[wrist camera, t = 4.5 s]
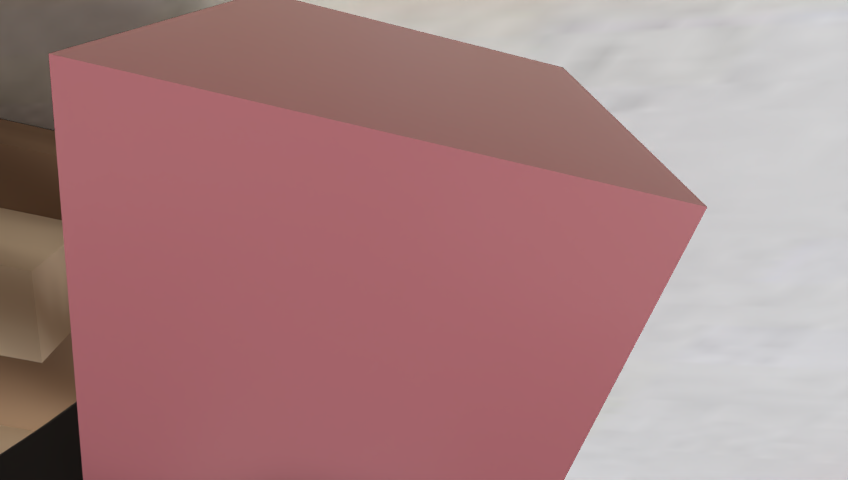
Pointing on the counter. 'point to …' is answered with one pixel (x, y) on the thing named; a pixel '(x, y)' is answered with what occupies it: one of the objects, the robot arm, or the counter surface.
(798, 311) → the counter surface
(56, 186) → the stand
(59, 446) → the robot arm
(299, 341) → the pink rectangular block
